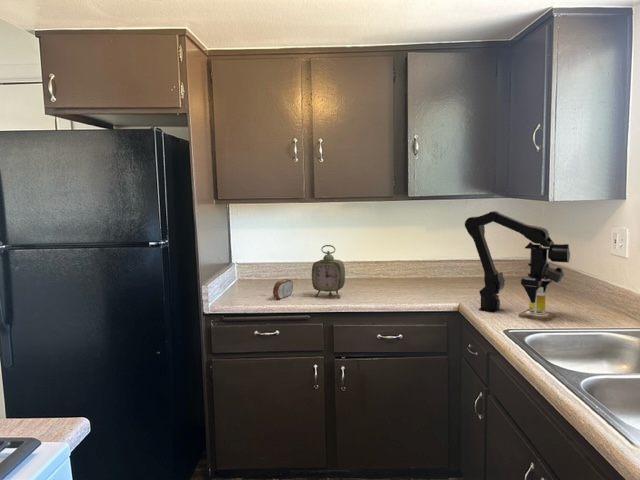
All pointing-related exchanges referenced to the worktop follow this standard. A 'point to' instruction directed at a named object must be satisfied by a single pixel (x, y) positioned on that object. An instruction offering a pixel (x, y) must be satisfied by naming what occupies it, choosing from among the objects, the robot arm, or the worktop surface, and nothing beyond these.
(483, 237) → the robot arm
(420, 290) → the worktop surface
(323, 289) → the tabletop clock
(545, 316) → the walnut board
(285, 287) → the tin
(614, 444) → the worktop surface
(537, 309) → the supplement bottle
